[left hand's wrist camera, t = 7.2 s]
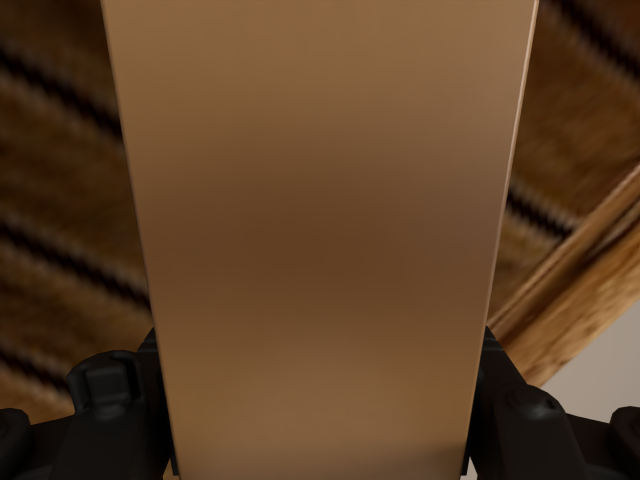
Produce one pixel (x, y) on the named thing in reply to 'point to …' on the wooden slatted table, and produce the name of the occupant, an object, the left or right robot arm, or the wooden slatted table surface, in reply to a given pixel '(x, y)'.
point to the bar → (319, 222)
